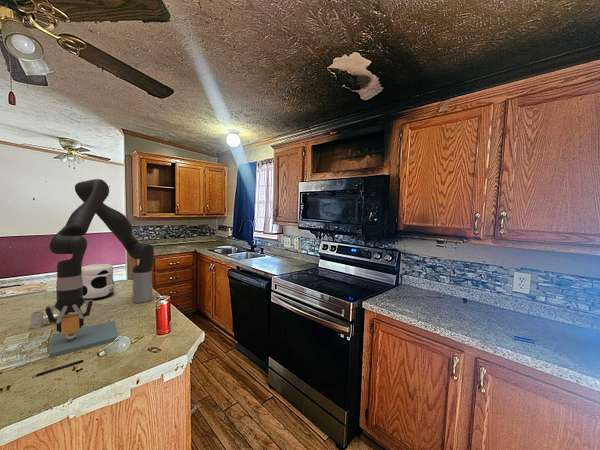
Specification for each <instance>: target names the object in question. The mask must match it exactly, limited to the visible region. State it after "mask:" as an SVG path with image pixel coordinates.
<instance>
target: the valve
mask: <svg viewBox="0 0 600 450" xmlns="http://www.w3.org/2000/svg"><path fill="white" fill-rule="evenodd" d="M68 314H69V313H67V314H64V316H65V315H68ZM53 316H54V318H58V316H59V314H53ZM30 318H31V319H30V324H31V329H33V330H36V329H41V328H43V327H44V326H45V322H46V323H48V322H49V319H48V317H47V314H45V313H44V311H43V310H38V311H33V312H32V313H31V314H30Z"/></svg>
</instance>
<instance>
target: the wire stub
mask: <svg viewBox="0 0 600 450" xmlns="http://www.w3.org/2000/svg"><path fill="white" fill-rule="evenodd" d="M75 339H76V334H75V333H71V334H68V335H67V341H73V340H75Z"/></svg>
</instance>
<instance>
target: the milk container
mask: <svg viewBox="0 0 600 450" xmlns="http://www.w3.org/2000/svg"><path fill="white" fill-rule="evenodd" d="M81 268H82V280H83V299H84V300H96V299H102V298H106V297H109V296H111V295H112V294H113V293H114V292H115V289H116V288H115V287H116V286H115V285H116V284H115V282H114V272H113V271H114V267H113V264H110V263H94V264H88V265H87V264H86V265H83V266H82V267H81Z"/></svg>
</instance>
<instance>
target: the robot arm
mask: <svg viewBox="0 0 600 450" xmlns="http://www.w3.org/2000/svg"><path fill="white" fill-rule="evenodd" d="M74 191H75V194H76V195H77V197H78V198H79V199H80V200H81V201H82V202H83V203H81V204H80V205H79V206H78V207H77V208H76V209H75V210H74V211H72V213H71V215H70V216H69V217H68V220H67V221H66V224H65V225H64V226H63V227H62V228H61V229H60V230H59V231H58V232H57V233H55V235H54V236H53V237H52V238H51V240H50V242H49V249H50V251H51V252H52V254H55V255H72V257H71V258H68V259H64V260H60V261H58V262H57V263H56V276H57V277H56V286H55V289H56V303H55V304H54V305H50V306H49V305H47V306H46V307H45V313H46V314H45V315H47V317H48V319H49V321H48V323H50V324H53V323H55V325H56V331H57V332H58V333H59V332H61V319H62V317H63V316H64V314H67V313H68V314H73V313H77V315H78V316H79V328H83V326H84V325H85V322H84V321H85V320H84V319H85V318H86V317H89V316H90V314H91V310H92V308H93V303H94V301H93V300H94V299H83V280H82V268H81V267H83V266H82V265H83V259H84V256H85V253H86V250H87V246H88V241H87V239H86V238H85V237H84V236H85V235H86V234H87V232H88V231H89V228H90V225H91V223H92V221H93V218H94V217H95V215H97V217H98V218H100V220H101V221H102V222H103V224H104V225H105V226H106V227H107V228H108V229H109V231H110V232H111V233H112V234H113V235H114V236H115V238H117V239H118V241H119V242H120V243H121V244H122V245H123V247H124V249H125V250H126V252H127V254H128V255H129V256H130V257H131V259H135V260H139V261H138V264H137V265H134V266H133V268H132V303H135V304H143V303H142V302H144V303H147V301H148V302H150V301H153V299H154V297H153V296H154V295H153V293H154V292H153V282H152V279H153V274H152V273H153V266H154V259H155V258H154V255H155V253H154V251H155V250H154V246H153V245H152V244H150V243H141V242H139V241H138V240H137V239H136V238H135V236H134V235H133V226H132V224H131V222H130V220H129V219H128V218H127V217H126V215H125V214H124V213H122V212H120V211H118V210H116V209H114V208H113V207H110V206H108V205H107V204H106V203H104V202H105V201H106V199H107V198H108V197H109V195H110V187H109V185H108V183H107V182H106V181H105V180H104V179H100V178H95V179H90V180H85V181H84V180H83V181H79V182H77V183H75V185H74ZM149 300H150V301H149ZM84 304H85V306H86V311H85V312H83V311H82V309H81V307H83V305H84ZM55 309H56V310H58V311H59V314H58V315H59V316H58V318H54V316H53V315H54V313H53V312H54V311H55Z"/></svg>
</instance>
